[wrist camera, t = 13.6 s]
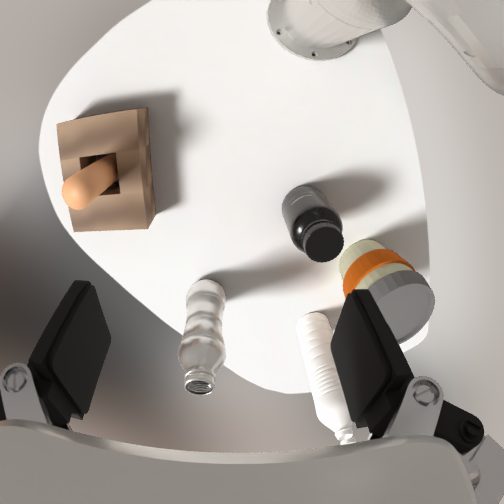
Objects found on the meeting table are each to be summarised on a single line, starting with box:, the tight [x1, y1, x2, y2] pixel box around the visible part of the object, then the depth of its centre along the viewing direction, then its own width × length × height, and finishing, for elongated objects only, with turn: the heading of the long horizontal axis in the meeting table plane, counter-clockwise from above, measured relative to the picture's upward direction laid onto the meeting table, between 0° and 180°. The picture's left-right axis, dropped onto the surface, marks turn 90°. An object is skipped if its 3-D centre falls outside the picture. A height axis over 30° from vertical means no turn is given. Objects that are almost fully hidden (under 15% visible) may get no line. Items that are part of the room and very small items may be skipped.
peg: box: [62, 153, 119, 210], centre depth 33 cm, size 4×4×12 cm
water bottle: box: [296, 312, 356, 445], centre depth 45 cm, size 9×6×25 cm
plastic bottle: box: [178, 279, 226, 396], centre depth 41 cm, size 6×7×20 cm
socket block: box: [57, 108, 156, 232], centre depth 36 cm, size 16×12×5 cm
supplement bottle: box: [282, 186, 344, 262], centre depth 38 cm, size 7×7×12 cm
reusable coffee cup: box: [339, 239, 435, 344], centre depth 42 cm, size 13×12×15 cm
